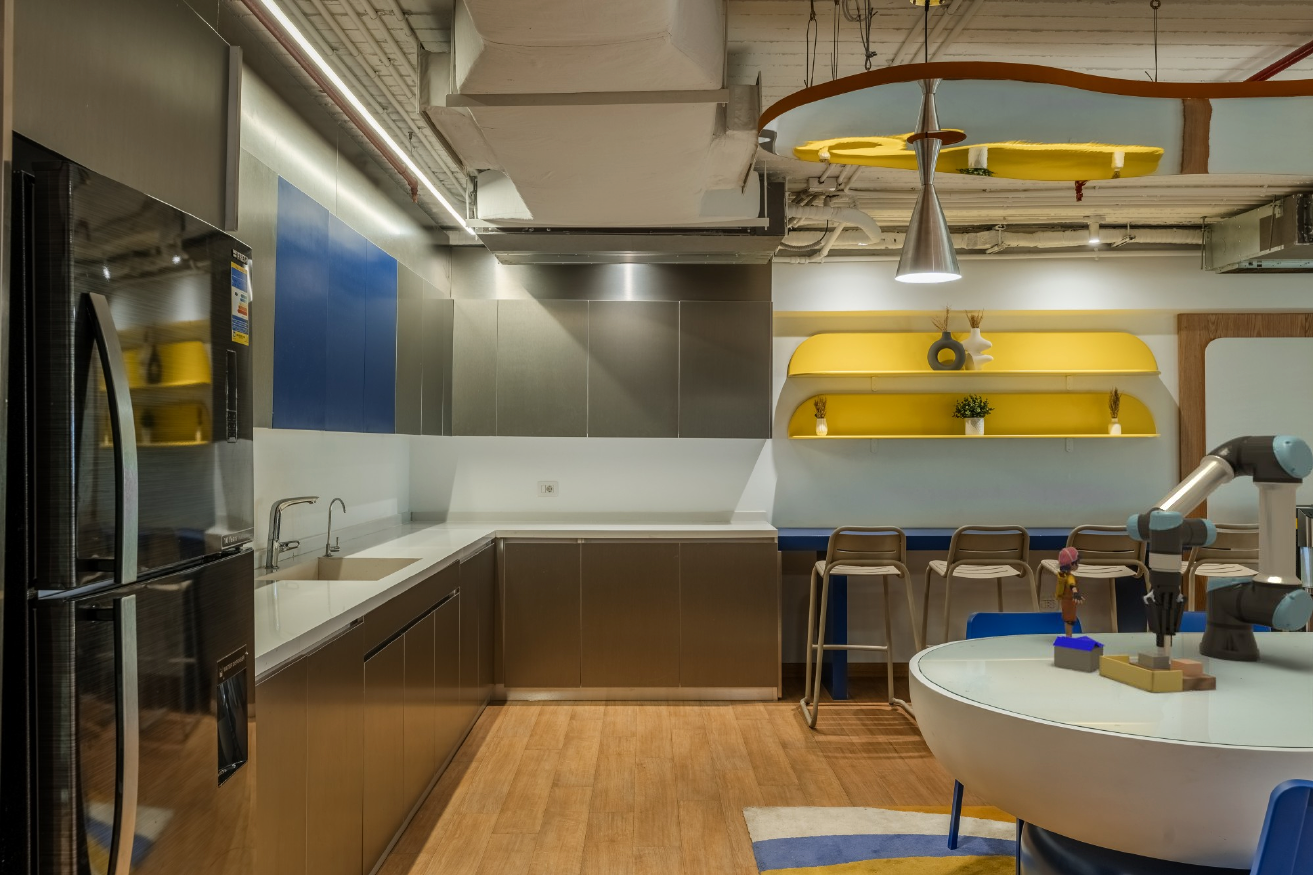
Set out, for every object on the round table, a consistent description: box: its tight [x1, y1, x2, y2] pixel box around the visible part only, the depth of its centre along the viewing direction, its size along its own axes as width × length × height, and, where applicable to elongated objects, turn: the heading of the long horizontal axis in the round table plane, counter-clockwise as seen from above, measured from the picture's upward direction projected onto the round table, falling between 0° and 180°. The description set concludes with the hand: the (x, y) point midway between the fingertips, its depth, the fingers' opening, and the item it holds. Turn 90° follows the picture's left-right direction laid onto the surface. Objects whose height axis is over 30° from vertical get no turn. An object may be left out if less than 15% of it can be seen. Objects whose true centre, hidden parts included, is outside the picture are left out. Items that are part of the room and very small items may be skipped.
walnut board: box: [1129, 661, 1217, 692], centre depth 232 cm, size 10×18×3 cm, turn 14°
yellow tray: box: [1098, 654, 1183, 694], centre depth 230 cm, size 9×18×5 cm, turn 14°
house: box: [1052, 635, 1105, 674], centre depth 247 cm, size 11×11×8 cm
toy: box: [1053, 546, 1086, 638], centre depth 277 cm, size 24×7×30 cm, turn 168°
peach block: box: [1169, 658, 1204, 676], centre depth 229 cm, size 5×5×3 cm
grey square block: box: [1137, 651, 1170, 669], centre depth 236 cm, size 5×5×3 cm
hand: (1163, 659), depth 237 cm, fingers closed
